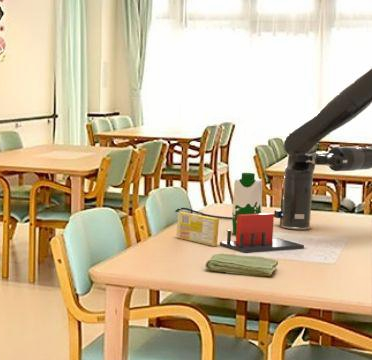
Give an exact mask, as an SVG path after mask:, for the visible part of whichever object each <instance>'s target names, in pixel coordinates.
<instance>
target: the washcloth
mask: <svg viewBox="0 0 372 360" xmlns="http://www.w3.org/2000/svg"><path fill="white" fill-rule="evenodd" d="M278 264H279V260H276V259H273V258H267V257H262V256H252V255H251V256H250V255H237V254H231V253H216V254H213V255H211V257H210V258H209V259H208V260H207V261H206V262H205V265H204V266H205V268H206V269H207V270H208V271H211V272H218V273H226V274H236V275H244V276H255V277H256V276H257V277H271V275H273V274H272V273H273V272H274V271H275V270H276V269H277V266H278Z"/></svg>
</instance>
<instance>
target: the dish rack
mask: <svg viewBox="0 0 372 360" xmlns="http://www.w3.org/2000/svg"><path fill="white" fill-rule="evenodd" d="M254 238H255V233H251V245H246V246H243V239H244V234H240V246H239V245H236V240H231V239H232V229H231V230H230V229H228V230H227V234H226V241H219V246H221V247H223V248H226V249H227V248H228V249H231V250H235V251H237V252H240V253H244V254H247V253H258V252H260V253H261V252H273V251H286V250H298V249H299V250H300V249H304V248H305V244H301V243H298V242H293V241H289V240H286V239H283V238H280V237H279V238H278V237H274V238H273V239H272V244H265V232H262V243H261V244H260V245H254Z"/></svg>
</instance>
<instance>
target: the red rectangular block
mask: <svg viewBox="0 0 372 360" xmlns="http://www.w3.org/2000/svg"><path fill="white" fill-rule="evenodd" d="M274 219H275V217H274V213H271V212H261V213H260V214H241V215H237V229H236V235H235V241H236V245H239V246H240V234H244V239H243V246H246V245H251V233H255V238H254V245H260V244H261V243H262V232H265V244H272V239H273V237H274Z"/></svg>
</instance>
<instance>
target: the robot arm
mask: <svg viewBox="0 0 372 360" xmlns="http://www.w3.org/2000/svg"><path fill="white" fill-rule="evenodd" d="M371 104H372V68H371V69H369V70H367V72H365V73H363V74H362V75H361V76H360V77H358V78H357V79H356V80H354V81H353V82H352V83H351V84H349V85H348V86H347V87H345V88H343V90H341V91H340V92H339V93H338V94H336V95H335V96H334V97H333V98H332V99H331V100H330V101H329V102H327V104H326V105H325V106H323V107H322V108H321V109H320V110H319V111H318V112H317V113H316V114H315V115H314V116H313V117H311V118H310V119H309V120H308V121H306V122H305V123H304V124H302V125H300V126H299V127H297V128H296V129H294V130H292V131H291V132H290V133H288V135H287V136H286V137H285V139H284V142H283V149H284V152H285V154H286V155H288V158H287V163H286V166H285V169H284V180H283V197H282V198H281V199H280V210H278V209H277V210H274V212H273V214H274V219H279V227H281V228H283V229H288V230H294V231H295V230H296V231H307V230H310V229H311V216H312V215H311V214H312V213H311V212H312V197H313V195H312V194H313V178H314V173H315V168H316V166H327V167H328V168H329V169H330V170H331V171H333V172H353V171H361V170H363V171H364V170H370V169H372V146H367V147H364V146H362V147H356V146H334V147H331V148H330V149H329V151H328V152H325V151H322V152H317V151H318V150H317V149H318V147H317V146H318V143H320V142H321V141H322V140H323V139H324V138H325V137H326V136H328V135H330V134H331V133H332V132H334V131H335V130H338V129H339V128H341V127H343V126H344V125H346V124H348V123H349V122H351V121H352V120H354V119H355V118H357V116H359V115H361V113H362V112H364V111H365V110H366V109H367V108H369V106H370V105H371ZM180 208H181V209H179V208H177V209H176V210H175V212H177V213H178V212H180V211H181V210H182V211H183V210H185V211H189V212H192V213H193V214H198V215H201V216H206V217H211V218H216V219H223V220H232V216H221V215H213V214H208V213H204V212H202V211H199V210H194V209H191V208H188V207H180Z"/></svg>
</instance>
